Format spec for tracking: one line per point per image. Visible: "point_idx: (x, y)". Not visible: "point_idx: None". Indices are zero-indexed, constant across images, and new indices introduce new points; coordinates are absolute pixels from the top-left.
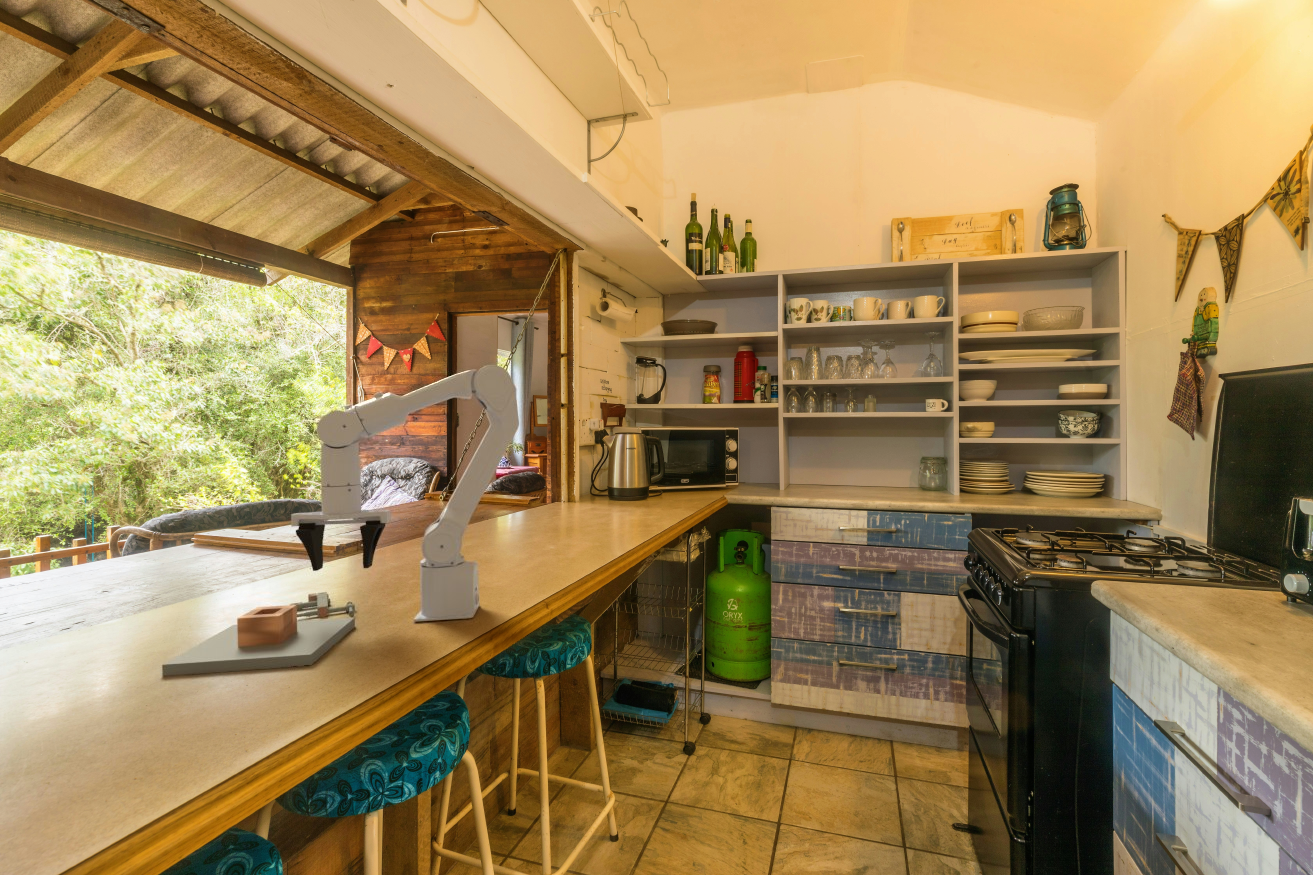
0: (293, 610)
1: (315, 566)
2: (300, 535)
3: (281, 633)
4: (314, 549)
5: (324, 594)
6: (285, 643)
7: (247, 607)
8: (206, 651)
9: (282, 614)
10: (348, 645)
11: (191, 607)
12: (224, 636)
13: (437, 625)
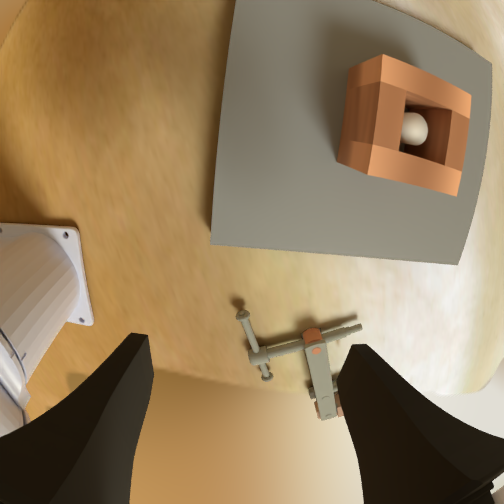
0: (366, 150)
1: (364, 354)
2: (494, 444)
3: (356, 75)
4: (397, 413)
5: (323, 410)
6: (334, 65)
7: (424, 384)
8: None
9: (379, 76)
10: (186, 84)
11: (469, 382)
12: (463, 187)
13: (31, 195)
